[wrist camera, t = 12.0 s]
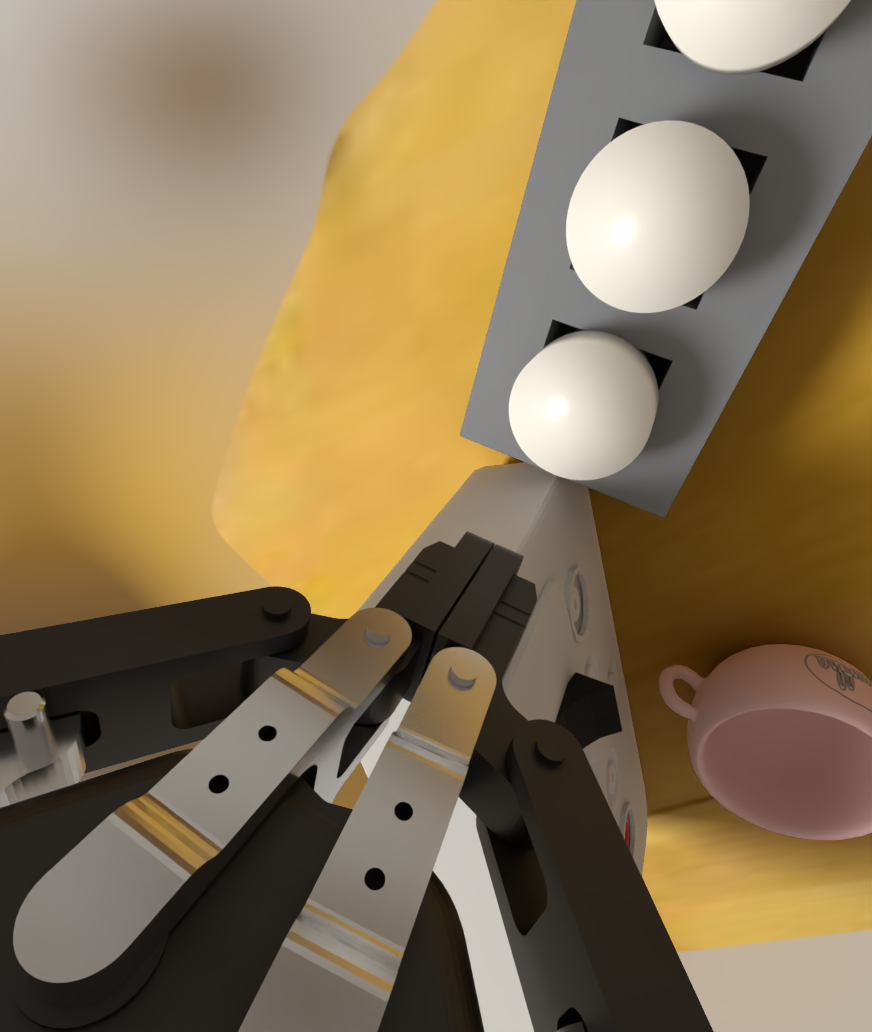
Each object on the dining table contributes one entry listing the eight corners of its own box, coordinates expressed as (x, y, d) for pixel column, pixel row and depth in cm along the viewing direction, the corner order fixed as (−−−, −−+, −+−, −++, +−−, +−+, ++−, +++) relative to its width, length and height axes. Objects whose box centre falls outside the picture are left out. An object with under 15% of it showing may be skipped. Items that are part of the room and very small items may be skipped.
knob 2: (689, 334, 26) (679, 373, 21) (637, 445, 29) (618, 500, 25) (567, 293, 27) (532, 321, 23) (530, 404, 30) (493, 450, 26)
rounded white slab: (685, 818, 42) (660, 1158, 28) (576, 800, 46) (504, 1093, 31) (625, 435, 31) (531, 674, 17) (487, 451, 34) (312, 659, 20)
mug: (941, 671, 30) (979, 766, 25) (830, 781, 36) (844, 875, 31) (701, 576, 33) (695, 646, 28) (633, 692, 38) (619, 766, 34)
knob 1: (776, 149, 22) (787, 147, 17) (705, 302, 25) (697, 335, 21) (628, 111, 23) (601, 99, 18) (578, 261, 26) (544, 284, 22)
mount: (996, -145, 18) (1070, -231, 14) (673, 471, 31) (664, 518, 27) (668, -193, 20) (651, -279, 16) (492, 402, 33) (459, 435, 29)
